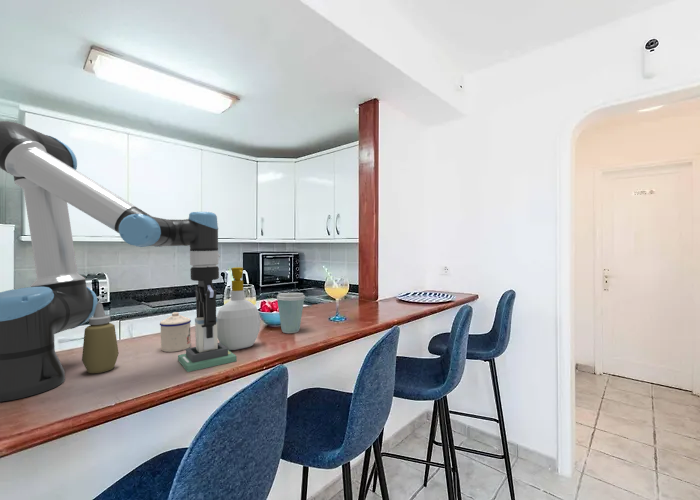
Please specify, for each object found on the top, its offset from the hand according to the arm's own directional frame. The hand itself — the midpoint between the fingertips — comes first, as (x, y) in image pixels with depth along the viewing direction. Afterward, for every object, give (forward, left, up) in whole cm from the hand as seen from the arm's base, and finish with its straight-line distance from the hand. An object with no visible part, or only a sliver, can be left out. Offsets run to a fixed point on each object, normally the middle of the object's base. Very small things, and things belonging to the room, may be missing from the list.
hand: (206, 346), depth 99 cm
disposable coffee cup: (+35, +14, -4) cm, 37 cm away
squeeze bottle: (-24, +11, -4) cm, 27 cm away
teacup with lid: (-4, +21, -4) cm, 22 cm away
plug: (0, 0, -1) cm, 1 cm away
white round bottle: (+12, +6, -4) cm, 14 cm away
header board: (0, 0, -4) cm, 4 cm away
